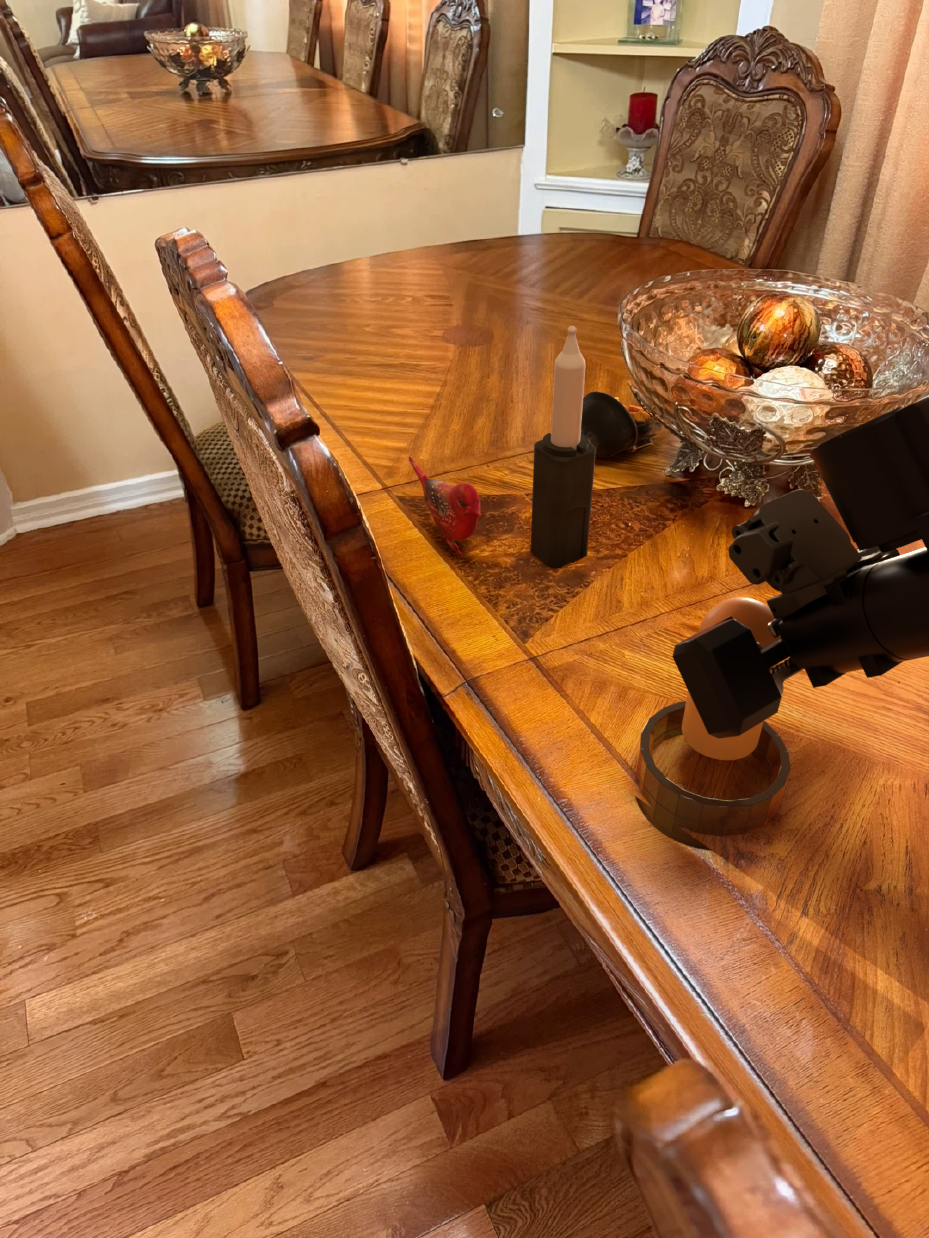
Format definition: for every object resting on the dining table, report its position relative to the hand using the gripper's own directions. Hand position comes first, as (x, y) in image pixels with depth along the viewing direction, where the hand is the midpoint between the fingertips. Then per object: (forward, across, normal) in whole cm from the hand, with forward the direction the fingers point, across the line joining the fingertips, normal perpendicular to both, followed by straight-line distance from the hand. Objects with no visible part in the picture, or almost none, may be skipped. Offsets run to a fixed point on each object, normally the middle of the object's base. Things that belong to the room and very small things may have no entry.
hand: (719, 656), depth 64 cm
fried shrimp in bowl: (+41, -35, -23) cm, 58 cm away
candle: (+31, -12, -13) cm, 36 cm away
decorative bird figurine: (+38, -3, -20) cm, 43 cm away
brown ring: (+8, +1, +10) cm, 13 cm away
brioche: (+4, 0, +6) cm, 7 cm away
